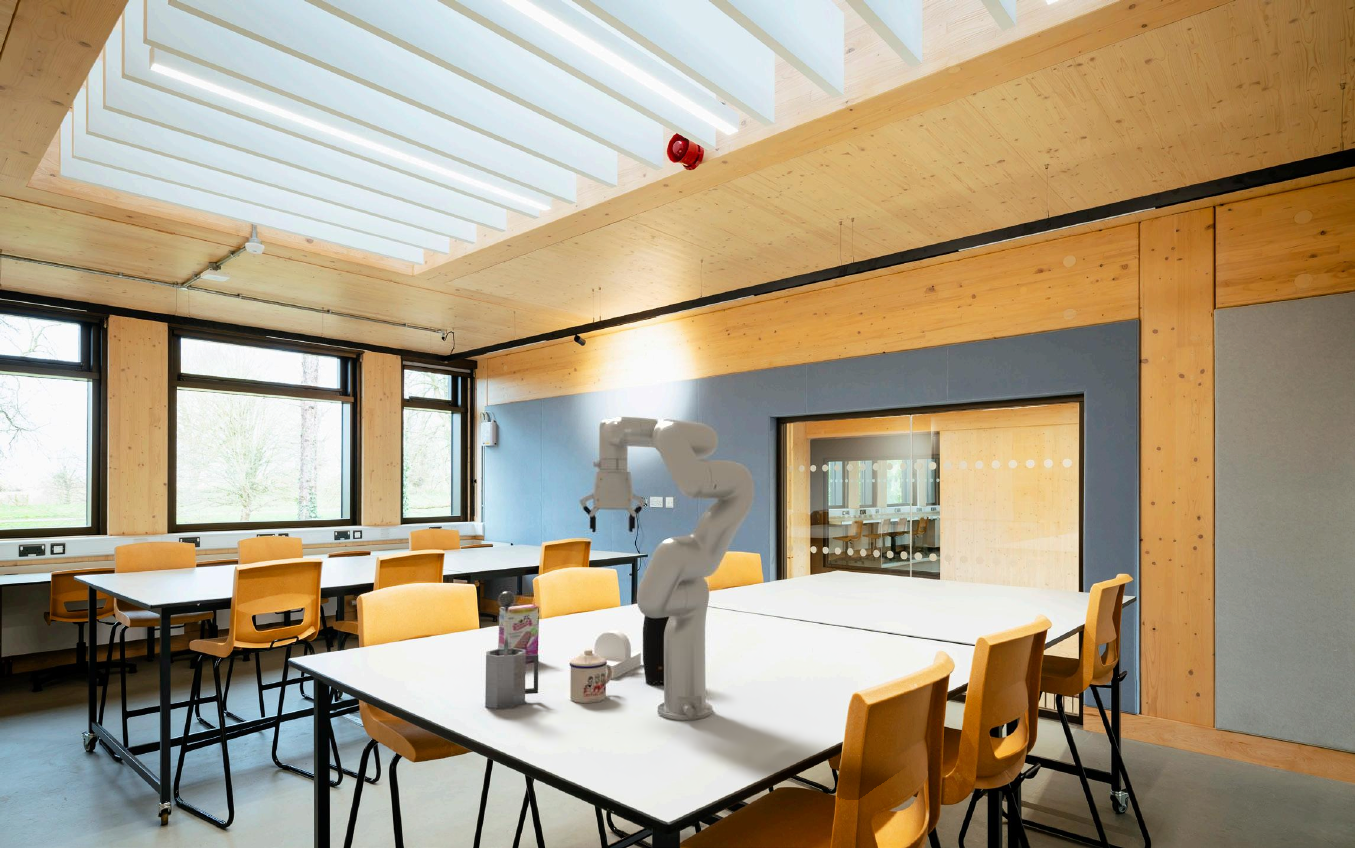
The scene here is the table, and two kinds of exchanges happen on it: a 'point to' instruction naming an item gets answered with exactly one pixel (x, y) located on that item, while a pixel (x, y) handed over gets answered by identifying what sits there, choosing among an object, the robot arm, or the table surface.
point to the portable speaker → (654, 649)
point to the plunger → (506, 614)
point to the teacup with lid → (589, 678)
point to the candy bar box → (521, 628)
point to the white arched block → (617, 652)
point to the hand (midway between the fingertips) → (612, 531)
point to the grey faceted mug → (508, 678)
